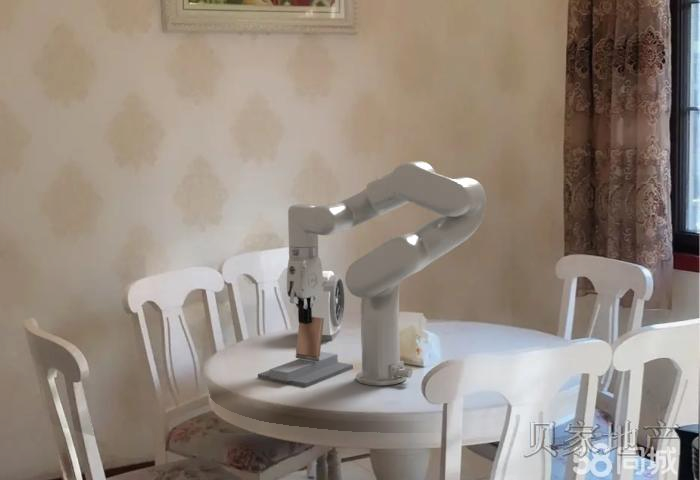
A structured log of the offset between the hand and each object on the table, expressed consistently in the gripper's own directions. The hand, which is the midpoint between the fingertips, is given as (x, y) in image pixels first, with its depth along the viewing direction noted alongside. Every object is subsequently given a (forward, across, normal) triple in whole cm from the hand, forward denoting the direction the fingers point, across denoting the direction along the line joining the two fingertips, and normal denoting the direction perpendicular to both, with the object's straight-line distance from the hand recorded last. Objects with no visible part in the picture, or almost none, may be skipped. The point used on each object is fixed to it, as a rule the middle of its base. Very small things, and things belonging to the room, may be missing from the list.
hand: (305, 322), depth 217 cm
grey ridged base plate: (+13, -1, -1) cm, 13 cm away
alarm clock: (+14, +34, +19) cm, 42 cm away
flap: (+4, 0, -1) cm, 4 cm away
